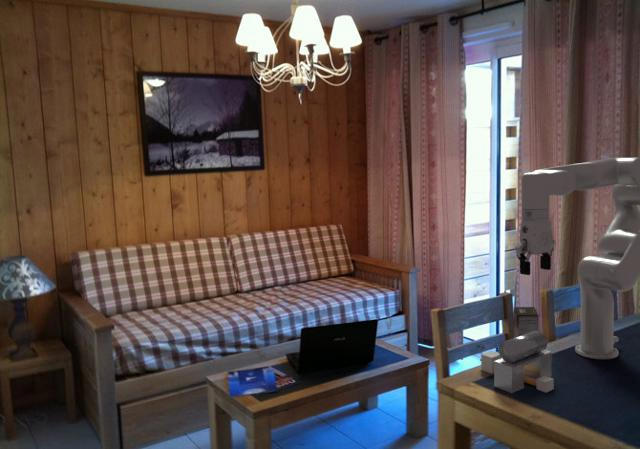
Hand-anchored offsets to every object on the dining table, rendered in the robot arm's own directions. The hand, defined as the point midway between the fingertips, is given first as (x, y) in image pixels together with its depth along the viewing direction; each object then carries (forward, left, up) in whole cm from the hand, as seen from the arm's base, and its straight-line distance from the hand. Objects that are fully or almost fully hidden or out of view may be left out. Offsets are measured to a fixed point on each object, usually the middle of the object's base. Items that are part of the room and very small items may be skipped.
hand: (535, 271), depth 167 cm
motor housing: (+10, +3, -30) cm, 32 cm away
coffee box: (-5, -7, -31) cm, 32 cm away
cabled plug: (+10, 0, -30) cm, 32 cm away
